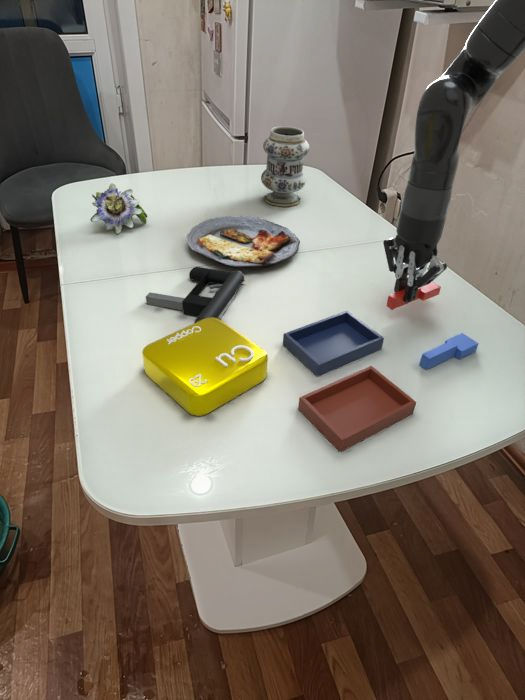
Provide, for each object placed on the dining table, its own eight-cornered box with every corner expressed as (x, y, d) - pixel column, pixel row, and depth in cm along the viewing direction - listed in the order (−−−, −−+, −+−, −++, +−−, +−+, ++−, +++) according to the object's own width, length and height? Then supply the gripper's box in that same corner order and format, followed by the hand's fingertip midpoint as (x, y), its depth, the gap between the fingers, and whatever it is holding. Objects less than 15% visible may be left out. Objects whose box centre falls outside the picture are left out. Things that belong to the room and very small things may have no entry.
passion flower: (121, 253, 123) (86, 222, 113) (113, 227, 129) (78, 196, 120) (158, 226, 121) (125, 192, 111) (148, 200, 127) (115, 166, 118)
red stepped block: (424, 286, 100) (427, 275, 99) (439, 294, 98) (441, 283, 97) (382, 303, 96) (384, 292, 94) (396, 312, 93) (398, 301, 92)
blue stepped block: (459, 340, 91) (463, 329, 89) (475, 351, 89) (480, 340, 87) (414, 361, 86) (417, 350, 84) (430, 373, 83) (434, 362, 82)
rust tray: (368, 376, 82) (371, 365, 81) (413, 413, 76) (416, 402, 74) (297, 408, 76) (299, 397, 74) (339, 452, 70) (342, 440, 68)
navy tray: (345, 321, 94) (347, 310, 93) (381, 349, 88) (384, 337, 87) (282, 344, 88) (283, 333, 87) (317, 376, 82) (318, 365, 80)
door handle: (128, 309, 90) (212, 323, 86) (177, 259, 106) (251, 269, 101) (132, 324, 92) (214, 339, 88) (179, 273, 108) (251, 284, 103)
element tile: (213, 333, 90) (212, 311, 87) (272, 376, 81) (273, 353, 78) (139, 369, 81) (136, 346, 78) (196, 421, 73) (195, 397, 70)
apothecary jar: (305, 209, 134) (312, 138, 123) (259, 207, 134) (262, 136, 123) (303, 192, 144) (309, 125, 133) (260, 190, 144) (263, 122, 133)
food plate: (317, 246, 118) (319, 232, 116) (256, 286, 103) (256, 271, 101) (233, 216, 129) (233, 203, 127) (167, 248, 114) (166, 234, 112)
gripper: (472, 219, 82) (445, 310, 93) (409, 192, 91) (392, 277, 101) (440, 229, 79) (416, 322, 89) (378, 200, 88) (363, 287, 98)
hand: (403, 298), depth 95 cm, fingers closed on red stepped block, 1 cm apart
